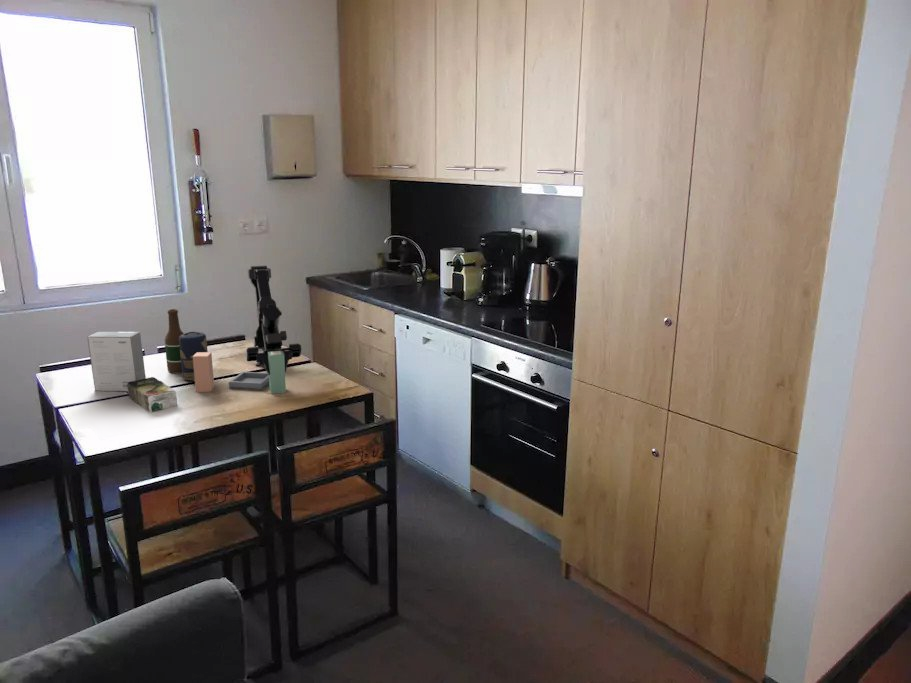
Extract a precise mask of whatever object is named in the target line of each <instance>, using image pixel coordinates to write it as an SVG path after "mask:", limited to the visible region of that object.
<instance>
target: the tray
mask: <svg viewBox="0 0 911 683" xmlns="http://www.w3.org/2000/svg"><path fill="white" fill-rule="evenodd" d="M267 386H269V374H268V373H267V372H259V371H258V372H257V371H256V372H254V371H253V372H252V371H241V372H240V373H239V374H237V375H236V376H234V377H233V378H232V379H230V380H229V381H228V389H233V390H248V391H263V389H265V388H266V387H267Z"/></svg>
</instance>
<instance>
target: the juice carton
mask: <svg viewBox="0 0 911 683" xmlns="http://www.w3.org/2000/svg"><path fill="white" fill-rule="evenodd" d="M127 392H128V396H129V398H131V399H132V401H134V402H135V403H136V404H138V405H139V406H141V407H143V408H144V409H145V410H147V411H148V412H149V413H152V412H155V411H157V410H165V409H169V408H173V407H177V406H179V405H178V399H177V391H176V390H175V389H173V388H172V387H170V386H169V385H168V384H165V383H164V382H163V381H161V380H159V379H158V378H156V377H154V376H151V377H146V379H142V380H138V381H131V382H128V391H127Z"/></svg>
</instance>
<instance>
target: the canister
mask: <svg viewBox="0 0 911 683" xmlns="http://www.w3.org/2000/svg"><path fill="white" fill-rule="evenodd" d="M179 345H180V355H181V366H182V373H181V374H182V378H183V379H184V380H186V381H189V382H190V381H191V382H195V377H194V366H193V356H194V355H195V354H196V353H197V352H209V351H208V340H207V334H205V333H204V332H200V331H188V332H185V333H184V334H182V335H180V336H179Z"/></svg>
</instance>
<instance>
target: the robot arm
mask: <svg viewBox="0 0 911 683" xmlns="http://www.w3.org/2000/svg"><path fill="white" fill-rule="evenodd" d="M247 277H248V279H249V282H250V284H251V285H252V287H253V288H254V290H255V293H254V294H255V303H256V317H257V323H258V324H257V325H258V326H257V327H256V329H255V332H254V336H253V346H252V347H251V346H250V347H247V348H246V353H245V354H246V355H245V356H246V361H247V362H256V364H255V367H263V368H264V370H265V371H266V373H268V374H270V371H269V366H268V352H272V351H283V353H284V361H285V374H286V372H287V366H288V363H289V361H290V360H292V359H293V358H299V357H301V354H302V345H301V343H299V342H298V343H297V342H295V343H289V345H288V347H283V341H287V340H288V339H287V338H288V335H287V331H286V330H281V331H280V329H279V324H280V317H281V316H283V315H282V310H280V307H278V306H277V303H276V300H274V299H273V298H272V293H271V288H270V283H269V282H270V279H272V269H271V268H270V267H267V265H251V266H250V269H249V268H248V269H247Z"/></svg>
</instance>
